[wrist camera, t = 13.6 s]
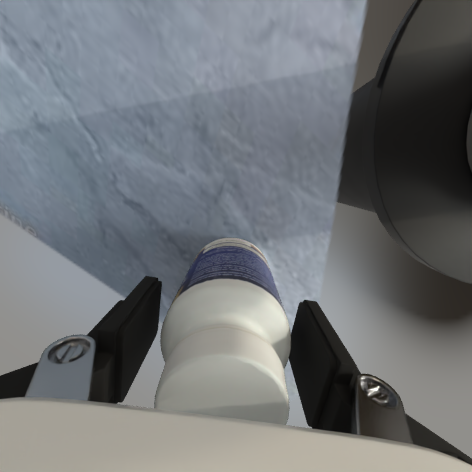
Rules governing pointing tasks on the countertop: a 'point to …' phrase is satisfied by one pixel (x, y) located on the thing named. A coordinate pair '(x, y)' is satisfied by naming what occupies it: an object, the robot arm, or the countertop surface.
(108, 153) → the countertop surface
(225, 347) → the pill bottle
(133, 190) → the countertop surface
